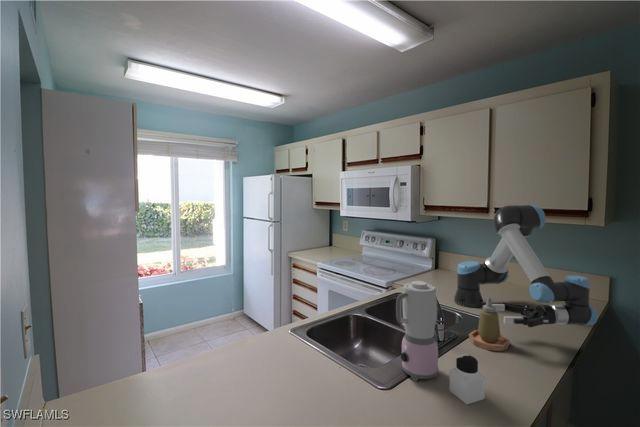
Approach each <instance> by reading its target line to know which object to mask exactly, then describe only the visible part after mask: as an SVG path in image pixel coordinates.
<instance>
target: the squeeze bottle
mask: <svg viewBox="0 0 640 427" xmlns="http://www.w3.org/2000/svg"><path fill="white" fill-rule="evenodd" d="M485 302H486V303H485V304H483V306H482V309H481V310H480V313H479V314H480V315H479V320H478V327H477V330H478V331H479V334H480V337H481V339H482V340H483V341H485V342H488V343H496V342H497V340H498V338H499V336H500V334H501V330H500V320H499V313H498V311H496V308H495V307H494V306H492V304H493V302H492V299H491V297H487V298H486V301H485Z"/></svg>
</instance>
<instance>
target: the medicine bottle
mask: <svg viewBox="0 0 640 427" xmlns="http://www.w3.org/2000/svg"><path fill="white" fill-rule="evenodd" d="M455 360H456V361H455V368H451V369H449V392H451V393H452V394H453V395H454V396H455V397H457V398H458V399H459V400H460V401H462V402H463V403H464V404H465V405H470V404H474V403H476V402H480V401H483V400H485V397H486V392H485V390H486V389H485V388H486V387H485V386H486V384H485V383H486V382H485V380H486V379H485V376H484V375H482V374H481V373H479V372H478V371H479V361H478V360H477V358H476V357H474V356H472V355H469V354H464V353H463V354H457V356H456V357H455Z"/></svg>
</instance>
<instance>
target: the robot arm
mask: <svg viewBox="0 0 640 427" xmlns="http://www.w3.org/2000/svg"><path fill="white" fill-rule="evenodd" d="M545 225H546V214H545V212H544V210H543V209H542V208H541V206H538V205H536V204H535V205H534V204H524V205H523V204H522V205H517V204H515V205H504V206H502V207H500V208H499V209H498V210H496V212H495V214H494V217H493V227H494V229H495V232H496V233H497V235H498V236H499V237H501V239H500V241H499V242H498V243H497V246H496V247H495V249H494V250H493V253H492V254H491V256H488V257H487V258H485V260H484V262H483V263H480V262H479V261H475V260H471V261H470V260H466V261H462V262H459V264H458V265H457V269H456V270H457V271H456V273H457V281H456V282H457V285H456V286H457V288H456V291H455V294H454V297H453V300H454V301H455V302H457V303H459V304H461V305H460V306H462V305H464V306H463V307H466V306H469V307H468V308H480V307H483V305H484V299H483V296H482V293H481V285H499V284H503V283H506V281H507V280H508V278H509V273H510V272H509V269H508V264H509V262H510V261H511V260H512V258H513V257H514V258H515V259H516V262H517V263H518V264H519V266H520V268H521V270H522V271H523V273H524V275H525V276H526V277H527V280H528V281H529V283H530V285H529V288H528V291H529V296H530V298H531V299H532V300H534V301H535V302H537V303H547V304H538V305H537V306H536V307H535V308H534V307H531V306H530V305H529V304H517V303H511V302H502V304H501V303H499V304H495V303H492V306H494V307H495V308H496V311H495V312H511V313H516V314H520V315H521V316H503V324H504V325H523V326H527V327H528V328H533V327H538V326H542V325H557V326H560V325H571V326H572V325H573V326H592V325H594V324H597V322H598V319H599V316H598V314H597V313H598V312H597V310H596V309H595V308H594V307H593V306H591V305H590V290H591V288H590V280H589V279H588V277H585V276H582V275H576V274H575V275H574V274H571V275H570V274H569V275H568V274H567V275H566V276H565V277H564V281H554V279H553V278H552V277H551V275H550V274H549V272H548V271H547V269H546V267H544V265H543V264H542V262H541V260H540V258H538V256H537V254H536V252H535V251H534V250H533V248H532V247H531V245H530V243H529V242H528V241H527V239H526V237H530V236H531V235H532V233H533V232H534V231H535V230H537V229H538V230H539V229H541V228H543V227H544V226H545ZM455 302H454V303H455ZM555 302H557V303H558V302H564V304H549V303H555ZM459 304H458V305H459Z"/></svg>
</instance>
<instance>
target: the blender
mask: <svg viewBox="0 0 640 427" xmlns="http://www.w3.org/2000/svg"><path fill="white" fill-rule="evenodd" d="M437 302H438V301H437V288H436V286H435V285H434V284H430V283H427V282H425V281H423V280H413V281H412V282H408V283H405V284H404V285H403V287H402V293H401V294H399V295H398V296H397V297H396V303H395V309H396V312H395V313H396V315H395V316H396V321H397V322H398V323H399V324H404V329H405V331H404V332H405V334H404V336H403V337H402V341H401V354H400V359H401V367H402V368H401V369H403V372H405V373H406V374H407V375H409V376H410V378H411V380H412V379H414V380H413V381H415V380H418V381H419V379H422V380H424V379H425V380H429V379H433V378H436V377H437V376H438V375H439V346H438V343H437V340H436V337H435V329H436V322H437V316H438V315H437V313H438V312H437V311H438V310H437V307H438V306H437V305H438V304H437Z"/></svg>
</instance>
